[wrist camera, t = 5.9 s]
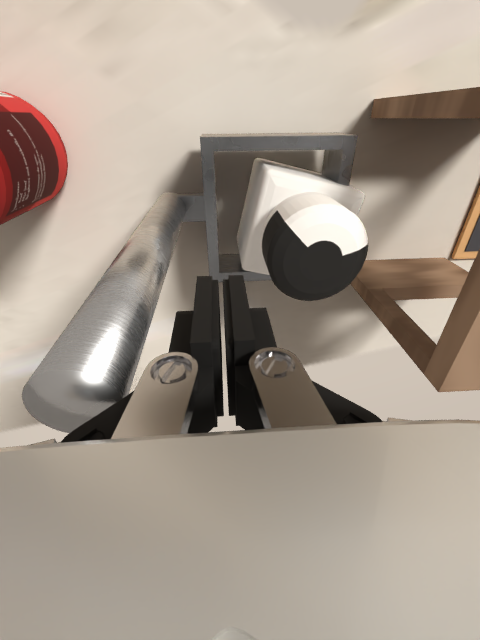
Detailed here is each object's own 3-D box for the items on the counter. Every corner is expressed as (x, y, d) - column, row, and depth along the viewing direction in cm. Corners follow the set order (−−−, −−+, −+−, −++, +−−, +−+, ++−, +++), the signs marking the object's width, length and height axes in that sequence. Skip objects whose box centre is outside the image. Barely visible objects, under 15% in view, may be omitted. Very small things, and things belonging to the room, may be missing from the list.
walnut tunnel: (505, 98, 24) (895, 72, 10) (440, 268, 32) (609, 382, 18) (374, 99, 23) (599, 73, 10) (341, 272, 31) (438, 392, 18)
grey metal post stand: (337, 132, 23) (712, 178, 6) (319, 259, 29) (478, 478, 11) (146, 134, 22) (-99, 195, 5) (165, 264, 28) (83, 506, 11)
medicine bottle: (306, 253, 30) (351, 321, 20) (235, 239, 29) (246, 304, 19) (334, 176, 26) (406, 212, 16) (254, 156, 25) (279, 181, 15)
